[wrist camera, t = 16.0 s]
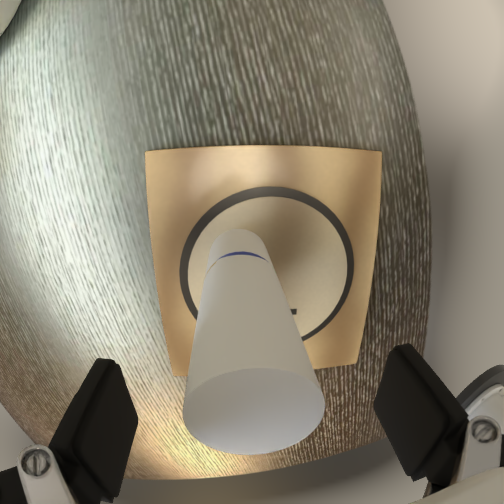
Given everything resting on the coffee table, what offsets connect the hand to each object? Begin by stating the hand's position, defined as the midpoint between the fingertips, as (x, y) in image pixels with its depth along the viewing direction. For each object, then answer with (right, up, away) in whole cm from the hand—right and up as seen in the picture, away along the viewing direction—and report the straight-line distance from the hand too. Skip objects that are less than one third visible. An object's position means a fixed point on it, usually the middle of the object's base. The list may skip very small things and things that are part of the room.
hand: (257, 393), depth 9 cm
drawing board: (+1, +3, +15) cm, 15 cm away
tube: (-1, +4, +13) cm, 14 cm away
